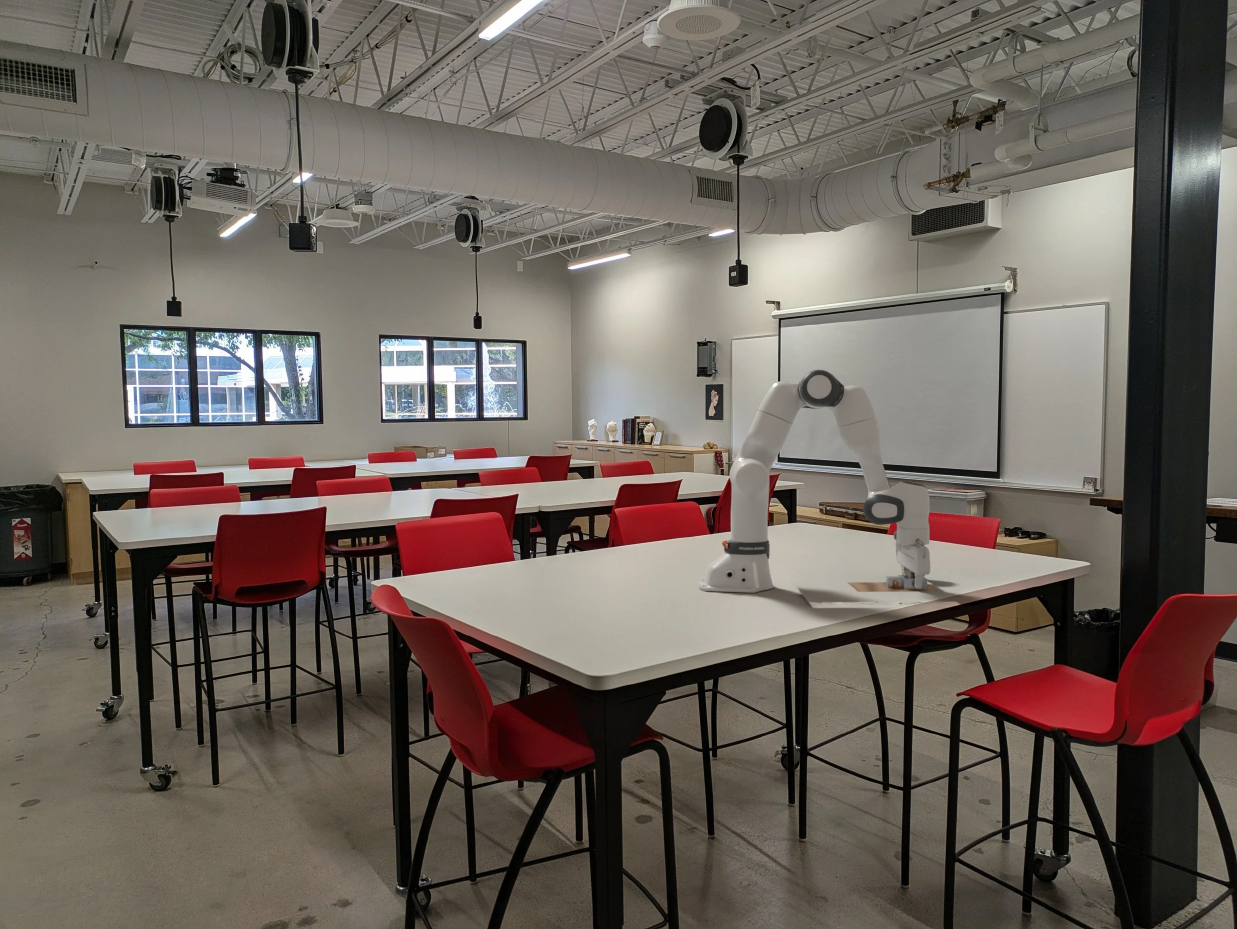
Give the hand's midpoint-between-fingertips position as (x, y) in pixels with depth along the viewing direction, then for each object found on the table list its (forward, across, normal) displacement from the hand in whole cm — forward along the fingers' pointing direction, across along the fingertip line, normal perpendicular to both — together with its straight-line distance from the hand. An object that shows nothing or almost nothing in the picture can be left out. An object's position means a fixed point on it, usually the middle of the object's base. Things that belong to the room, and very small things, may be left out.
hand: (912, 584), depth 235 cm
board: (+2, +1, +6) cm, 7 cm away
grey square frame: (+1, 0, +2) cm, 2 cm away
